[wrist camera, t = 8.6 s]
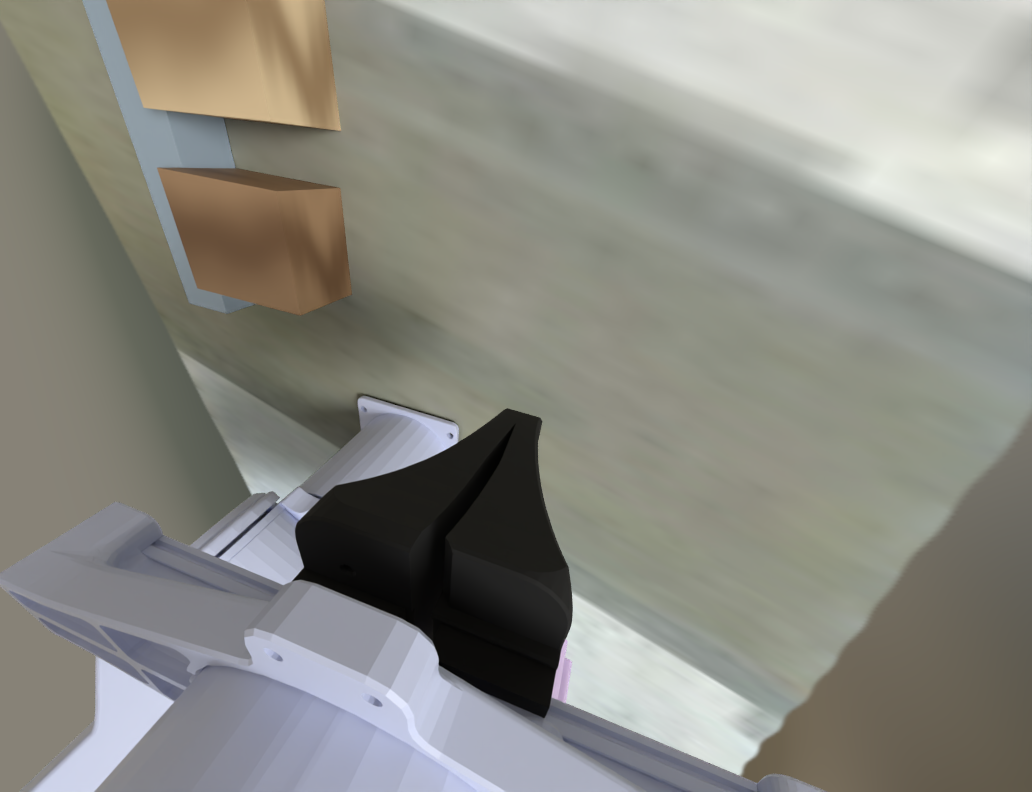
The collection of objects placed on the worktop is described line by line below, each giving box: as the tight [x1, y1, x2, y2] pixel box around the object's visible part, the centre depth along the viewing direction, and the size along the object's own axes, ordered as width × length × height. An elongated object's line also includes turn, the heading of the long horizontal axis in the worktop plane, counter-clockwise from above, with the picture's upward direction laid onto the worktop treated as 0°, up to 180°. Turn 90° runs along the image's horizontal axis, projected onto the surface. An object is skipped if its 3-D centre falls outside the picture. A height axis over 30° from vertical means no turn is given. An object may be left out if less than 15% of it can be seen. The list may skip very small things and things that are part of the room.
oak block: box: [106, 0, 341, 131], centre depth 17 cm, size 6×7×4 cm
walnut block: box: [157, 168, 352, 316], centre depth 21 cm, size 6×7×4 cm
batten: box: [82, 0, 255, 314], centre depth 20 cm, size 18×3×3 cm, turn 172°
